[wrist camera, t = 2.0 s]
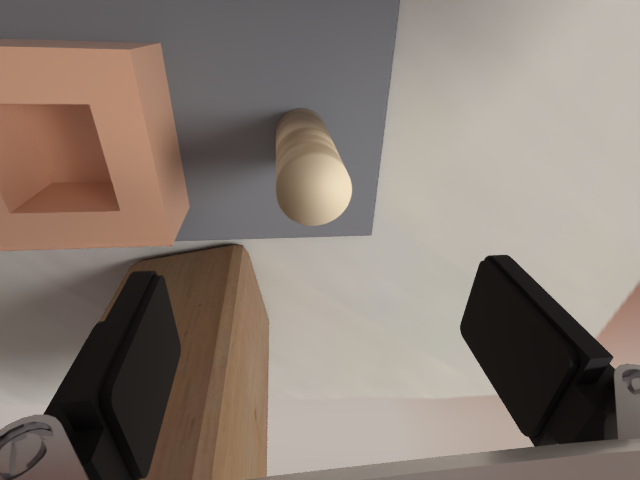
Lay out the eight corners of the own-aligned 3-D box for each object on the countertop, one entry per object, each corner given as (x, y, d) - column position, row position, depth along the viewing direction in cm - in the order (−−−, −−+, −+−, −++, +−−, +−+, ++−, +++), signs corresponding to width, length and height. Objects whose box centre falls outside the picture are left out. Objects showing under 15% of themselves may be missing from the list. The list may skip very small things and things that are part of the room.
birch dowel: (327, 108, 25) (354, 155, 16) (325, 159, 27) (349, 224, 18) (274, 107, 24) (274, 155, 16) (276, 159, 26) (277, 226, 18)
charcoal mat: (396, -7, 22) (400, -7, 22) (368, 229, 31) (371, 235, 31) (-64, -27, 20) (-79, -29, 19) (49, 238, 29) (42, 245, 28)
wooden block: (271, 321, 36) (268, 592, 19) (172, 339, 36) (80, 629, 19) (246, 237, 31) (211, 510, 14) (129, 258, 30) (-53, 560, 13)
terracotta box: (160, 42, 22) (129, 49, 17) (189, 206, 27) (172, 245, 23) (-41, 37, 20) (-133, 43, 16) (34, 210, 26) (-18, 251, 22)
